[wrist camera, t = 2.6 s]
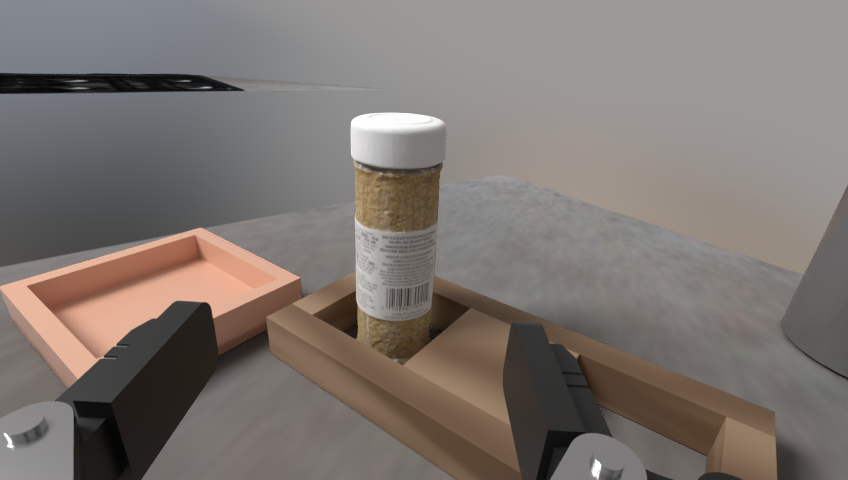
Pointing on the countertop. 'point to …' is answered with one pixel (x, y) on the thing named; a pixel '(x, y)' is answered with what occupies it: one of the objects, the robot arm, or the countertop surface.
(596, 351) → the walnut rack
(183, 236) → the terracotta tray
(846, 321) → the robot arm
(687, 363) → the countertop surface
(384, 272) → the sprinkles bottle
